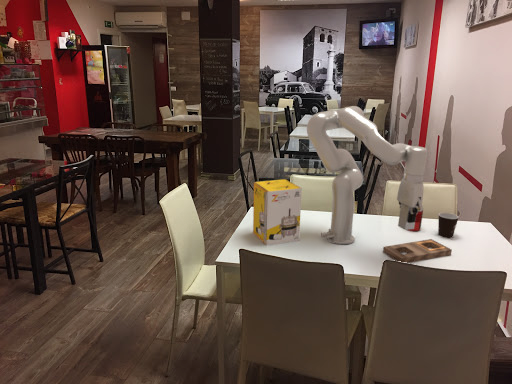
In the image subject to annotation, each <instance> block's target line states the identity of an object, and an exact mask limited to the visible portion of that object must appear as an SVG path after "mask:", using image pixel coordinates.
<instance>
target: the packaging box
mask: <svg viewBox="0 0 512 384" xmlns="http://www.w3.org/2000/svg"><path fill="white" fill-rule="evenodd" d="M302 189H303V188H301V187H300V186H299V185H296V184H295V183H293V182H291V181H289V180H288V179H286V178H284V179H274V180H263V181H261V180H260V181H255V182H253V214H252V215H253V219H252V220H253V221H252V223H253V226H252V230H253V231H252V232H253V234H254V235H255V236H257V237H256V238H258V239H259V240H261V241H262V242H263V244H265V246H274V245H279V244H285V243H286V244H287V243H292V242H298V241H300V231H301V230H300V229H301V228H300V227H301V214H302V213H301V210H302V209H301V208H302V191H303V190H302Z"/></svg>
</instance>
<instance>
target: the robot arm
mask: <svg viewBox="0 0 512 384" xmlns="http://www.w3.org/2000/svg"><path fill="white" fill-rule="evenodd" d="M342 128H344V129H345V130H346V131H348V132H349V133H350V134H352V135H354V136H355V137H356V138H357V139H358V140H360V141H362V142H363V144H364V146H365V147H366V148H367V149H368V151H369V152H370V153H372V154H373V155H374V156H375V157H377V158H378V159H379V160H380V161H382V162H383V163H385V164H387V165H390V166H396V165H398V164H400V163H402V162H405V163H404V169H403V170H404V171H403V178H401V179H400V182H399V187H398V191H397V196H396V200H397V202H398V204H399V209H400V208H401V203H402V204H404V205H407V206H409V207H410V213H409V218H408V223H413V222H415V219H416V214H417V213H418V212H419V211H421V210H423V211H424V207H423V199H424V176H425V170H426V164H427V157H428V149H427V148H426V147H423V146H419V145H415V146H414V145H410V144H406V143H403V142H397V143H395V144H394V143H393V144H391V143H390V142H389V141H387V140H386V139H385V138H384V137H382V136H381V134H380V133H379V130H378V126H377V125H376V123H374V122H373V121H371V120H370V119H369V118H367V117H366V116H365V113H364V111H363V109H362V108H360V107H359V106H355V105H352V106H346V107H343V108H339V109H333V110H326V111H325V110H324V111H320V112H317V113H314V114H313V115H312V116H311V117H310V118H309V120H308V122H307V125H306V135H307V138H308V139H309V141H310V143H311V144H312V146H313V147H314V148H313V149H314V150H315V151H316V153H317V155H318V158H319V159H320V161H321V163H322V165H323V167H324V168H325V169H326V171H328V172H329V173H333V174H334V173H337V172H338V174H336V176H335V177H334V178H333V180H332V182H331V183H332V184H331V190H332V191H331V192H332V204H331V205H332V207H331V219H330V220H331V221H330V223H331V224H330V228H329V229H328V231H327V232H321V233H320V236H321V238H325V237H326V239H327V241H328V242H331V243H332V244H335V245H336V244H337V245H344V246H345V245H350V244H353V243H354V242H355V236H354V235H353V234H352V233H353V222H354V210H355V209H354V208H355V197H354V191H356V190H358V189H359V188H360V187H361V186H362V185H363V181H364V176H363V173H362V171H361V169H360V168H359V166H358V164H357V163H356V161H355V158H354V157H353V156H352V154H351V153H350V151H348V150H347V149H345V148H337V146H336V145H335V143H334V141H333V139H332V138H331V137H330V136H329V135H328V134H327V131H330V130H336V129H342ZM413 208H415V209H414V210H413Z"/></svg>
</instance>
